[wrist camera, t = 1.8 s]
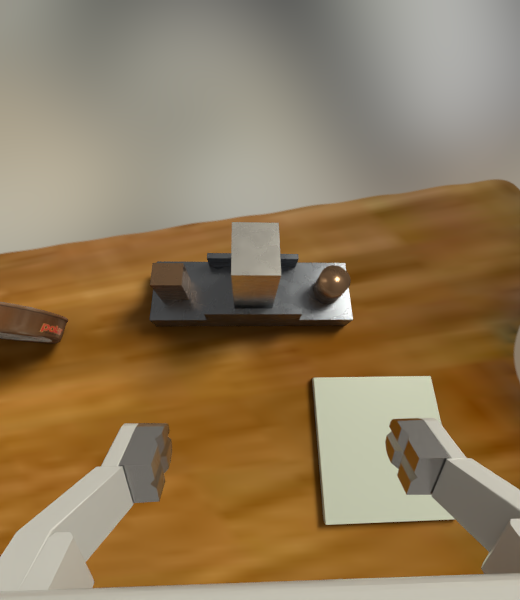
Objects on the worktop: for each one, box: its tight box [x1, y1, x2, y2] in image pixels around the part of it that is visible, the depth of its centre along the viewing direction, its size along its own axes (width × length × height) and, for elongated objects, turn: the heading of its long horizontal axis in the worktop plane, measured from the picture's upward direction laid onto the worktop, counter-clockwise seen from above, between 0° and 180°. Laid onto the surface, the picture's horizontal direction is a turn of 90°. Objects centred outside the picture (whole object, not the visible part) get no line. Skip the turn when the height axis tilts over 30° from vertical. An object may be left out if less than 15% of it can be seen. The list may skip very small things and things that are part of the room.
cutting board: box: [312, 376, 454, 525], centre depth 29 cm, size 13×13×1 cm
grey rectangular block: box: [231, 222, 281, 309], centre depth 28 cm, size 4×5×9 cm
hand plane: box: [150, 253, 353, 326], centre depth 31 cm, size 22×7×6 cm, turn 91°
